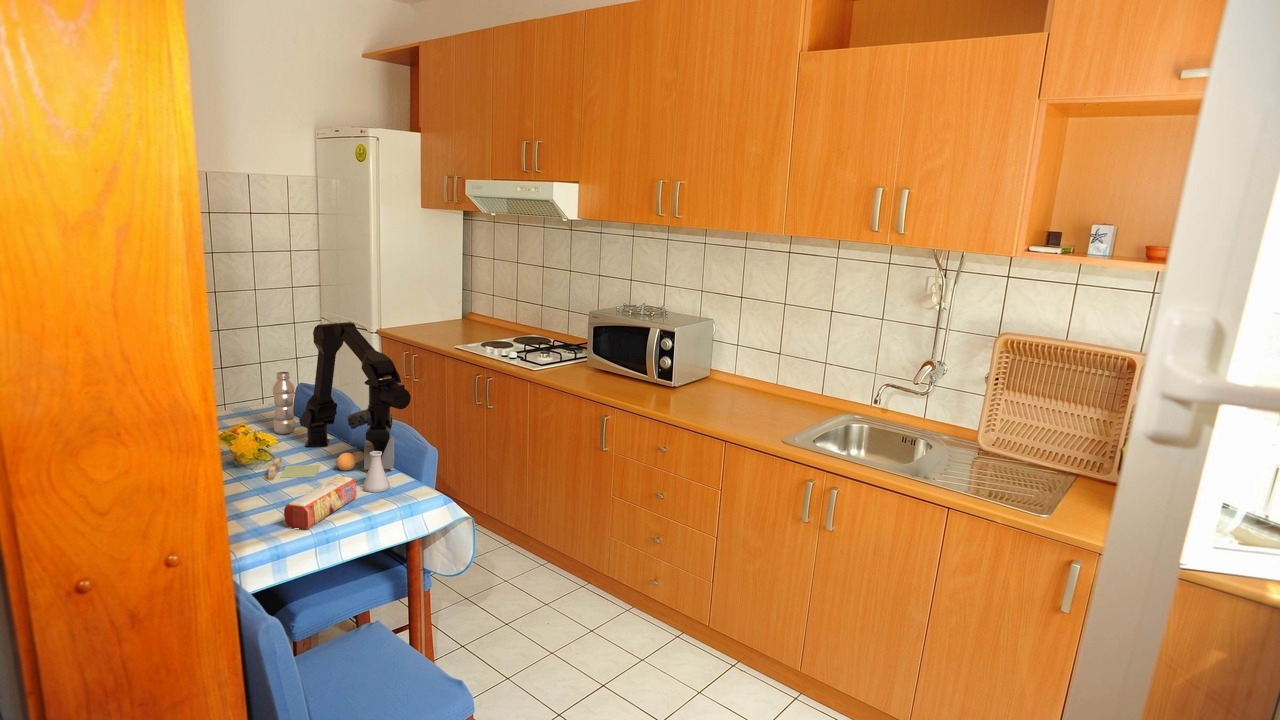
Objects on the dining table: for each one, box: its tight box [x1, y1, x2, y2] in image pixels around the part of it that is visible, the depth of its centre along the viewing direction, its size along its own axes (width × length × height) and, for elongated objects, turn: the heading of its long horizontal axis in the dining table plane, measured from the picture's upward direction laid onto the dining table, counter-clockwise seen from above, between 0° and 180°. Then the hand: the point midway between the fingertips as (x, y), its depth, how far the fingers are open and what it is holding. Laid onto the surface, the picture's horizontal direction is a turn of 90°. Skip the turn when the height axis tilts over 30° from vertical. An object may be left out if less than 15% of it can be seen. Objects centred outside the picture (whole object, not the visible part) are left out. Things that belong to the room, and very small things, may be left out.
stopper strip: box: [268, 456, 282, 481], centre depth 203 cm, size 12×1×2 cm, turn 16°
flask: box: [361, 451, 391, 493], centre depth 196 cm, size 7×7×10 cm
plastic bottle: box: [271, 371, 297, 435], centre depth 236 cm, size 6×7×20 cm
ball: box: [336, 452, 357, 472], centre depth 208 cm, size 5×5×5 cm
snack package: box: [283, 476, 358, 530], centre depth 179 cm, size 21×7×7 cm, turn 169°
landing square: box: [279, 464, 321, 479], centre depth 205 cm, size 9×9×1 cm
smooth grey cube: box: [363, 436, 395, 470], centre depth 210 cm, size 8×8×7 cm
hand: (379, 454), depth 210 cm, fingers closed on smooth grey cube, 8 cm apart
